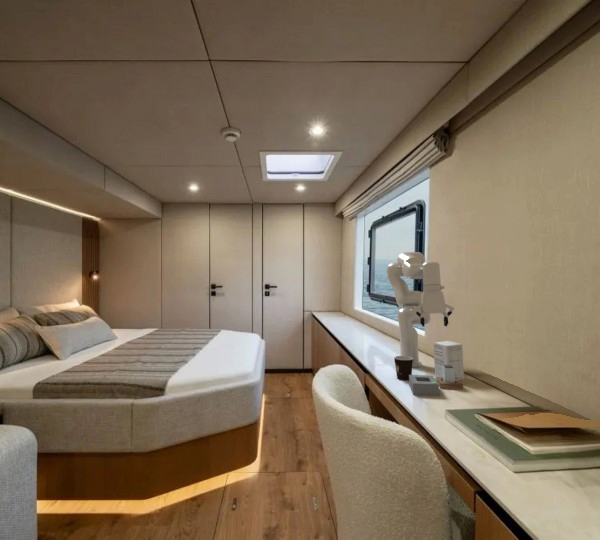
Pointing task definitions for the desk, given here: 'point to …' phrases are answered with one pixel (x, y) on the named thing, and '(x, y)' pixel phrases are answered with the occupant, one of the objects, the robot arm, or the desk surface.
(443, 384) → the brown wooden square base
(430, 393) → the port
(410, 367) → the coffee mug
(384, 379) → the desk surface
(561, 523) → the desk surface
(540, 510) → the desk surface
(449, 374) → the plug
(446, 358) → the supplement box
